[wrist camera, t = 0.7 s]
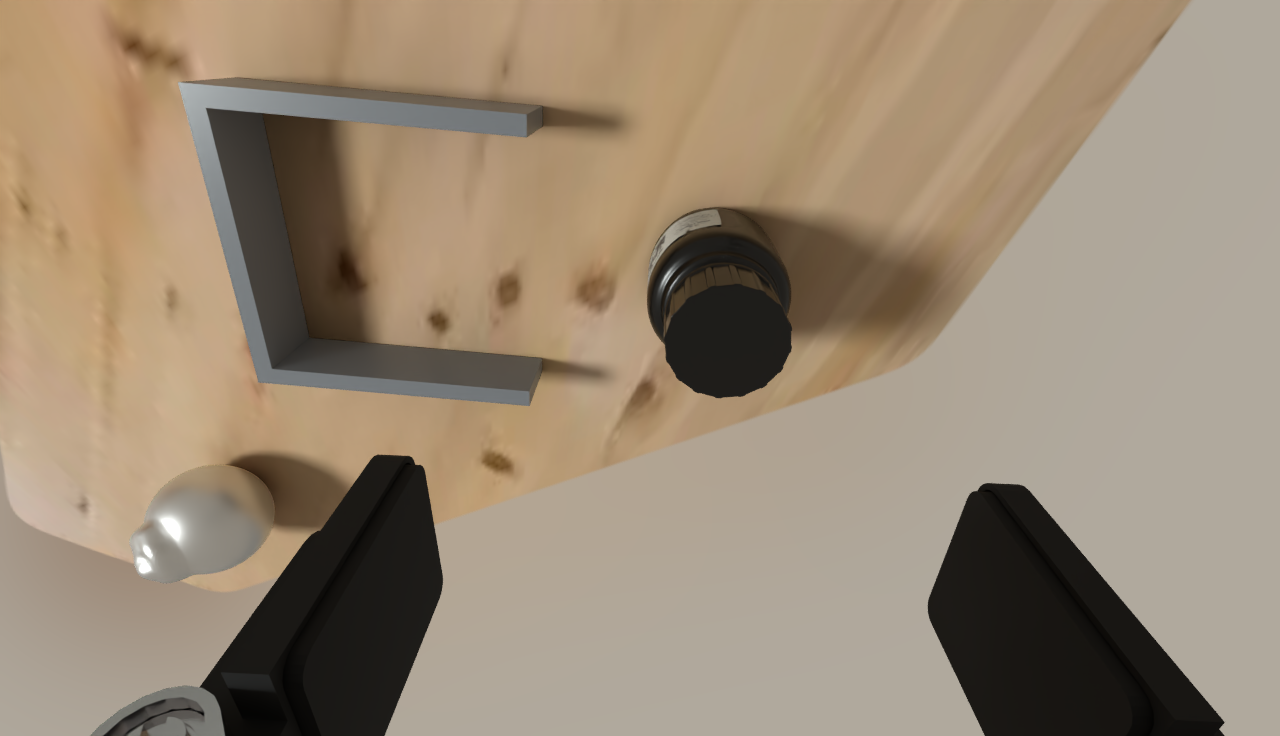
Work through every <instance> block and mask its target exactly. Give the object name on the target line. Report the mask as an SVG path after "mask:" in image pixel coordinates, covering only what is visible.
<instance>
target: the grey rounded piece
mask: <svg viewBox="0 0 1280 736" xmlns="http://www.w3.org/2000/svg"><path fill="white" fill-rule="evenodd" d="M274 517H275V506H274V501H273V497H272V495H271V493H270V491H269V489H268V487H267V486H266V485H265V484H264V482H263V481H262V480H261V479H259V478H258V477H257V476H256V475H254V474H253V473H251V472H249V471H247V470H244V469H242V468H239V467H235V466H229V465H208V466H202V467H198V468H195V469H192V470H189V471H186V472H184V473H182V474H180V475H178V476H177V477H175V478H173V479H172V480H170V481H169V482H168V483H167V484H165V485H164V486H163V487H162V488H161V489H160V490H159V491H158V492H157V494H156V495H155V496H154V498H153V499H152V501H151V503H150V504H149V506H148V509H147V511H146V514H145V519H144V523H143V524H142V525H141V526H140V527H139V528H138V529H137V530H135V531H134V533H133V534H132V535H131V537H130V546H131V549H132V552H133V556H134V565H135V568H136V570H137V572H138V574H139V575H140V576H141V577H143V578H145V579H148V580H152V581H157V582H160V583H173V582H177V581H180V580H183V579H185V578H187V577H189V576H192V575H197V574H211V573H217V572H221V571H224V570H227V569H230V568H232V567H234V566H237V565H238V564H240V563H242V562H244V561H245V560H247V559H248V558H249V557H251V556H252V555H253V554H254V553H255V552H256V551H257V550H258V549H259V548H260V547H261V546H262V545H263V543H264V542H265V541H266V539H267V537H268V536H269V534H270V532H271V529H272V526H273V523H274Z"/></svg>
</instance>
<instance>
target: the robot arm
mask: <svg viewBox="0 0 1280 736" xmlns="http://www.w3.org/2000/svg"><path fill="white" fill-rule="evenodd" d="M442 585H443V575H442V569H441V564H440V558H439V551H438V545H437V540H436V534H435V528H434V522H433V516H432V510H431V504H430V498H429V493H428V487H427V481H426V475H425V470H424V468H423V466H421V465H415V462H414V460H413V458H412V457H410V456H396V455H376V456H374V457H373V458H372V459H371V460H370V462H369V463H368V464H367V466H366V467H365V469H364V470H363V472H362V473H361V474H360V476H359V477H358V479H357V480H356V481H355V483H354V484H353V486H352V487H351V488H350V490H349V491H348V493H347V494H346V496H345V497H344V498H343V500H342V501H341V503H340V504H339V505H338V507H337V508H336V510H335V511H334V513H333V514H332V515H331V517H330V518H329V520H328V521H327V522H326V524H325V525H324V527H323V528H322V530H321V531H317V532H315V533H313V534H312V535H311V536H310V537H309V538H308V539H307V540H306V541H305V542H304V544H303V545H302V546H301V548H300V549H299V550H298V552H297V553H296V555H295V556H294V557H293V559H292V560H291V562H290V563H289V564H288V566H287V567H286V568H285V570H284V571H283V573H282V574H281V575H280V577H279V578H278V579H277V581H276V582H275V584H274V585H273V586H272V588H271V589H270V591H269V592H268V593H267V595H266V596H265V597H264V599H263V601H262V602H261V603H260V605H259V606H258V607H257V609H256V610H255V611H254V613H253V614H252V616H251V617H250V618H249V620H248V621H247V622H246V624H245V625H244V627H243V628H242V629H241V631H240V632H239V633H238V635H237V636H236V638H235V639H234V640H233V642H232V643H231V645H230V646H229V648H228V649H227V650H226V652H225V653H224V654H223V656H222V657H221V658H220V660H219V661H218V662H217V664H216V665H215V667H214V668H213V670H212V671H211V672H210V674H209V675H208V676H207V678H206V679H205V681H204V682H203V683H202V685H201V686H200V687H192V686H179V687H173V688H166V689H163V690H160V691H157V692H155V693H152V694H150V695H147V696H144V697H142V698H140V699H138V700H136V701H135V702H133V703H131V704H129V705H128V706H126V707H124V708H122V709H121V710H119V711H118V712H117V713H115V714H114V715H113V716H112V717H110V718H109V719H108V720H107V721H105V722H104V723H103V724H101V725H100V726H99V727H98V728H97V729H96V730H95V731H94V732H93V733H92V734H91V736H384V735H385V733H386V730H387V728H388V725H389V723H390V720H391V718H392V715H393V713H394V710H395V708H396V706H397V703H398V700H399V698H400V696H401V693H402V690H403V688H404V686H405V683H406V681H407V678H408V676H409V673H410V670H411V668H412V666H413V663H414V661H415V658H416V656H417V653H418V651H419V648H420V646H421V643H422V641H423V638H424V636H425V633H426V631H427V628H428V626H429V623H430V621H431V618H432V616H433V613H434V611H435V608H436V606H437V603H438V601H439V598H440V595H441V591H442ZM928 614H929V618H930V621H931V623H932V626H933V628H934V630H935V632H936V634H937V636H938V638H939V640H940V642H941V644H942V647H943V649H944V651H945V653H946V655H947V657H948V659H949V661H950V663H951V665H952V668H953V670H954V672H955V674H956V676H957V678H958V680H959V682H960V684H961V687H962V689H963V691H964V693H965V695H966V697H967V699H968V701H969V703H970V705H971V707H972V710H973V712H974V714H975V716H976V718H977V720H978V722H979V724H980V726H981V728H982V731H983V733H984V735H985V736H1224V735H1223V733H1222V732H1221V731H1220V730H1219V728H1220V727H1221V726H1222V725H1223V724H1224V721H1223V720H1222V719H1221V717H1220V716H1219V715H1218V714H1217V713H1216V711H1215V710H1214V709H1213V708H1212V707H1211V705H1210V704H1209V703H1208V702H1207V701H1206V700H1205V698H1204V697H1203V696H1202V695H1201V694H1200V692H1199V691H1198V690H1197V689H1196V688H1195V687H1194V686H1193V684H1192V683H1191V682H1190V681H1189V679H1188V678H1187V677H1186V676H1185V675H1184V674H1183V672H1182V671H1181V670H1180V669H1179V668H1178V666H1177V665H1176V664H1175V663H1174V662H1173V660H1172V659H1171V658H1170V657H1169V656H1168V655H1167V653H1166V652H1165V651H1164V650H1163V649H1162V647H1161V646H1160V645H1159V644H1158V643H1157V642H1156V640H1155V639H1154V638H1153V637H1152V636H1151V634H1150V633H1149V632H1148V631H1147V630H1146V629H1145V627H1144V626H1143V625H1142V624H1141V623H1140V621H1139V620H1138V619H1137V618H1136V617H1135V615H1134V614H1133V613H1132V612H1131V611H1130V610H1129V608H1128V607H1127V606H1126V605H1125V604H1124V602H1123V601H1122V600H1121V599H1120V598H1119V597H1118V595H1117V594H1116V593H1115V592H1114V591H1113V589H1112V588H1111V587H1110V586H1109V585H1108V584H1107V582H1106V581H1105V580H1104V579H1103V577H1102V576H1101V575H1100V574H1099V573H1098V572H1097V571H1096V569H1095V568H1094V567H1093V566H1092V564H1091V563H1090V562H1089V561H1088V560H1087V559H1086V557H1085V556H1084V555H1083V554H1082V553H1081V551H1080V550H1079V549H1078V548H1077V547H1076V546H1075V544H1074V543H1073V542H1072V541H1071V540H1070V538H1069V537H1068V536H1067V535H1066V534H1065V532H1064V531H1063V530H1062V529H1061V528H1060V527H1059V525H1058V524H1057V523H1056V522H1055V521H1054V519H1053V518H1052V517H1051V516H1050V515H1049V514H1048V512H1047V511H1046V510H1045V509H1044V508H1043V506H1042V505H1041V504H1040V503H1039V502H1038V501H1037V499H1036V498H1035V497H1034V496H1033V495H1032V493H1031V492H1030V491H1029V490H1028V489H1027V488H1025V487H1024V486H1022V485H1014V484H992V483H986V484H983V485H982V486H980V488H979V489H978V491H974V492H972V493H971V494H970V495H969V497H968V499H967V501H966V504H965V506H964V509H963V511H962V514H961V517H960V519H959V522H958V524H957V527H956V530H955V532H954V535H953V537H952V540H951V543H950V545H949V548H948V550H947V553H946V555H945V558H944V561H943V563H942V566H941V568H940V571H939V574H938V576H937V579H936V582H935V584H934V587H933V589H932V592H931V595H930V597H929V600H928Z"/></svg>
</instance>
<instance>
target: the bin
mask: <svg viewBox="0 0 1280 736" xmlns="http://www.w3.org/2000/svg"><path fill="white" fill-rule="evenodd" d="M178 84H179V88H180V91H181V95H182V99H183V103H184V106H185V110H186V114H187V118H188V121H189V125H190V129H191V132H192V136H193V140H194V144H195V147H196V151H197V155H198V158H199V162H200V166H201V170H202V173H203V177H204V181H205V185H206V188H207V192H208V196H209V199H210V203H211V207H212V211H213V214H214V218H215V222H216V226H217V229H218V233H219V237H220V240H221V244H222V248H223V252H224V255H225V259H226V263H227V267H228V270H229V274H230V278H231V281H232V285H233V289H234V293H235V296H236V300H237V304H238V308H239V311H240V315H241V319H242V322H243V326H244V330H245V334H246V337H247V341H248V345H249V348H250V352H251V356H252V360H253V363H254V367H255V371H256V375H257V378H258V382H260V383H272V384H283V385H295V386H306V387H318V388H329V389H341V390H352V391H364V392H375V393H387V394H398V395H410V396H421V397H432V398H444V399H455V400H467V401H478V402H490V403H501V404H513V405H524V406H530V403H531V401H532V398H533V395H534V392H535V390H536V387H537V384H538V381H539V379H540V376H541V373H542V358H534V357H523V356H511V355H500V354H489V353H477V352H466V351H455V350H443V349H432V348H421V347H409V346H398V345H386V344H375V343H364V342H352V341H341V340H330V339H318V338H309V333H308V329H307V324H306V319H305V314H304V310H303V305H302V300H301V296H300V291H299V286H298V281H297V277H296V272H295V267H294V262H293V258H292V253H291V248H290V243H289V239H288V234H287V229H286V224H285V220H284V215H283V210H282V205H281V201H280V196H279V191H278V187H277V182H276V177H275V172H274V168H273V163H272V158H271V153H270V149H269V144H268V139H267V134H266V130H265V125H264V120H263V115H262V113H267V114H278V115H289V116H300V117H311V118H322V119H332V120H343V121H354V122H365V123H376V124H387V125H398V126H409V127H419V128H430V129H441V130H452V131H463V132H474V133H485V134H496V135H506V136H517V137H528V136H529V135H531V134H532V133H534V132H535V131H537V130H538V129H539V128H541V127H542V126H543V106H538V105H527V104H516V103H505V102H495V101H484V100H473V99H462V98H451V97H441V96H430V95H419V94H408V93H397V92H387V91H376V90H365V89H354V88H343V87H333V86H322V85H311V84H300V83H289V82H279V81H268V80H257V79H246V78H224V79H211V80H199V81H186V82H178Z"/></svg>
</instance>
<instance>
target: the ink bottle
mask: <svg viewBox="0 0 1280 736" xmlns="http://www.w3.org/2000/svg"><path fill="white" fill-rule="evenodd" d="M790 303H791V285H790V280H789V276H788V273H787V270H786V268H785V266H784V264H783V262H782V260H781V259H780V257H779V255H778V253H777V251H776V250H775V248H774V246H773V244H772V242H771V240H770V239H769V237H768V236H767V234H766V233H765V232H764V230H763V229H762V228H761V227H760V226H759V225H758V224H757V223H755V222H754V221H753V220H751V219H750V218H748V217H747V216H745V215H743V214H741V213H738V212H735V211H732V210H728V209H722V208H704V209H699V210H695V211H692V212H689V213H687V214H685V215H683V216H681V217H680V218H678V219H677V220H675V221H674V222H673V223H672V224H671V225H670V226H669V227H668V228H667V229H666V230H665V231H664V232H663V234H662V235H661V236H660V238H659V239H658V241H657V243H656V245H655V247H654V249H653V252H652V255H651V258H650V263H649V272H648V289H647V309H648V315H649V319H650V322H651V325H652V327H653V329H654V331H655V333H656V334H657V336H658V337H659V339H660V340H661V341H662V342H663V343H664V344H665V350H666V361H667V363H669V365H670V366H671V368H672V370H673V372H674V373H675V375H676V378H677V379H678V380H679V381H682V382H683V383H684V384H686V385H687V386H689V387H690V388H691V389H693V391H695V392H697V393H702V394H706V395H710V396H714V397H715V398H722V397H735V396H738V397H741V396H745V395H746V394H748V393H750V392H752V391H755V390H757V389H759V388H763V387H765V386H766V385H767V383H768V382H769V381H770V380H772V379H773V378H774V377H775V376H776V375H777V374H778V373H780V372H781V371H782V369H783V365H784V363H785V361H786V359H787V357H788V355H789V353H790V352H791V349H792V346H791V331H792V327H791V324H790V322H789V319H788V317H787V315H788V312H789V308H790Z"/></svg>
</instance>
